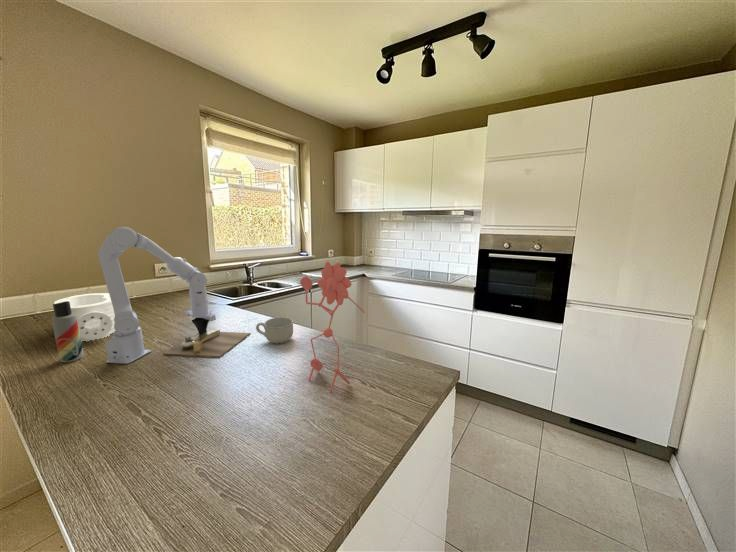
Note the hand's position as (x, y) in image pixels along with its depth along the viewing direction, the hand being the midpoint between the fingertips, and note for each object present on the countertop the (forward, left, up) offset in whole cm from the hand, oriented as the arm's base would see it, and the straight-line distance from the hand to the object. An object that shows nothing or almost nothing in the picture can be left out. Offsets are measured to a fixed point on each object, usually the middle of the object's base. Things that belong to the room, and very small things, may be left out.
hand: (203, 335), depth 114 cm
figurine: (-22, -58, -2) cm, 62 cm away
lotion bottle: (-20, +33, -2) cm, 39 cm away
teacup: (+2, -29, -2) cm, 29 cm away
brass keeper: (-9, -5, -1) cm, 10 cm away
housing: (+5, +52, -2) cm, 52 cm away
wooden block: (-3, -1, -1) cm, 3 cm away
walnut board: (-3, -5, -2) cm, 6 cm away
